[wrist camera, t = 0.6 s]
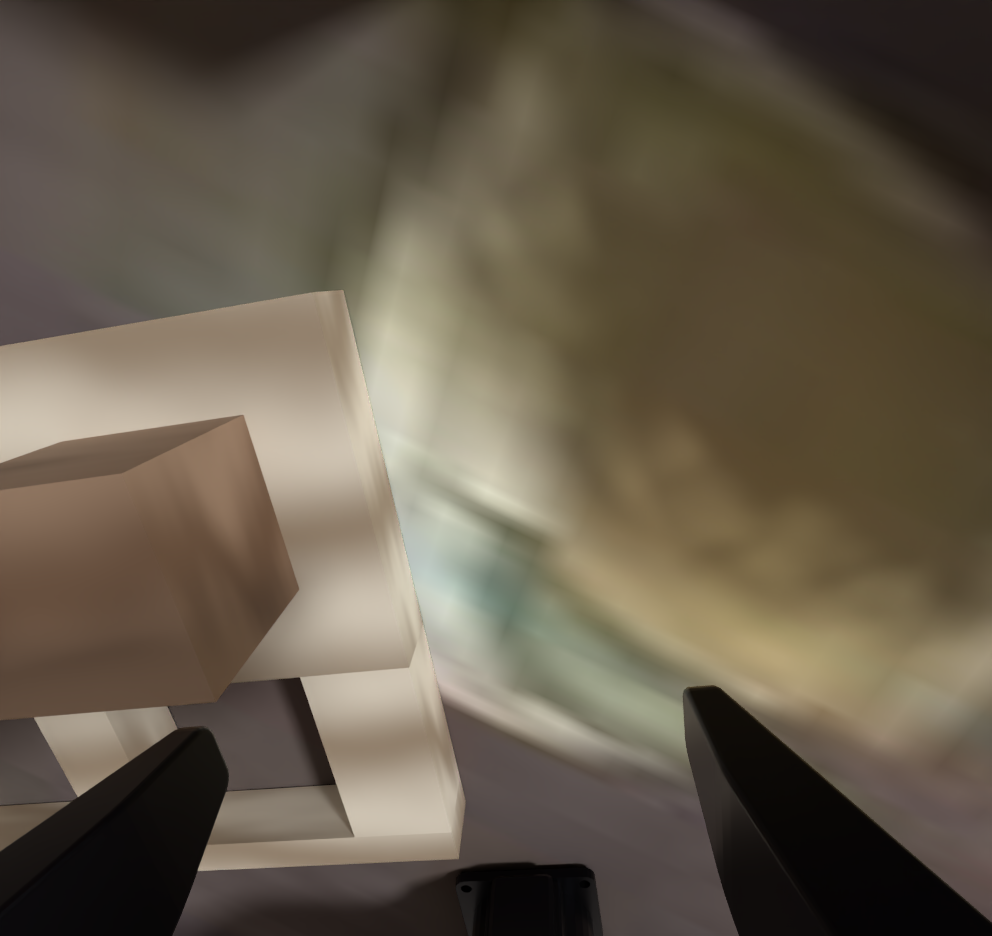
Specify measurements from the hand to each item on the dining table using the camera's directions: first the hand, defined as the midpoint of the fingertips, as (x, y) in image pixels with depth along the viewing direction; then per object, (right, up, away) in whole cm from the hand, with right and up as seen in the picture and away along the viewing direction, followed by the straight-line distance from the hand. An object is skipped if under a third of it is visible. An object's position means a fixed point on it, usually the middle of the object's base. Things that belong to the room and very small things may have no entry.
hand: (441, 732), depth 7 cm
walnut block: (-9, +2, +10) cm, 14 cm away
